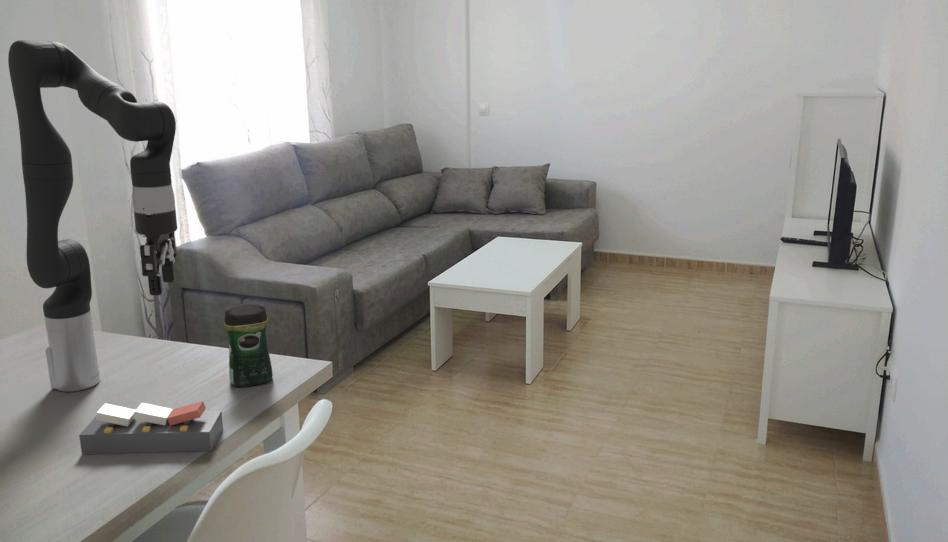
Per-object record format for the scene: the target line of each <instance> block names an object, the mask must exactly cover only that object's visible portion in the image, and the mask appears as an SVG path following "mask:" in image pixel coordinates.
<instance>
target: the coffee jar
mask: <svg viewBox="0 0 948 542" xmlns="http://www.w3.org/2000/svg"><path fill="white" fill-rule="evenodd" d="M265 307H266V306H265V304H264V302H262V301H257V302H247V303H239V304H233V305H232V304H231V305H226V306H225V308H224V309H225V310H224V319H223V324H224V328H225V330H226V332H227V336H228V350H229V351H228V352H229V353H228V355H229V356H228V361H229V362H228V368H229V369H228V370H229V371H228V373H229V382H230V383H231V384H232V385H233V386H235V387H237V388H238V387H239V388H240V387H250V386H255V385H256V386H257V385H261V384H266V383H268V382H270V381H271V380H273V376H274V375H273V366H272V362H271V357H270V351H269V346H268V339H267V326H268V323H269V322H268V321H269V318H268V315H267V314H268V313H267V310H266V308H265Z"/></svg>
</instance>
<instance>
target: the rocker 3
mask: <svg viewBox="0 0 948 542" xmlns="http://www.w3.org/2000/svg"><path fill="white" fill-rule="evenodd" d="M206 408H207V407H206V404H205V403H204V401H198V402H195V403H191V404H187V405H183V406H181V407H180V406H178V407H176V408H172V409H173V411H172V412H171V413H170V415H169V416H168V418H167V419H168V422H169V424H170V425H174V424H178V423H182V422H185V421H189V420H193V419H196V418H200V417H201V415H202V414H203V412H204V411H206Z"/></svg>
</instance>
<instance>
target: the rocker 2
mask: <svg viewBox="0 0 948 542" xmlns="http://www.w3.org/2000/svg"><path fill="white" fill-rule="evenodd" d="M173 409H174V408H171V407H165V406H161V405H156V404H151V403H147V402H141V403H140V404H139V406H137V408H136V409H135V412H134V418H133V419H136V420H140V421H145V422H150V423H155V424H160V425H164V426H165V425H166V424H167V422H168V419H167V418H168V416H169V415H170V413H171V412H172V411H173Z"/></svg>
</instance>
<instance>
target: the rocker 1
mask: <svg viewBox="0 0 948 542" xmlns="http://www.w3.org/2000/svg"><path fill="white" fill-rule="evenodd" d="M135 410H136V409H134V408H130V407H125V406H121V405H115V404H110V403H106V402H104V404H103V405H102V406H101V407H100V408H99V409H98V411H96V415H95V417H96V420H99V421H103V422H108V423H113V424H118V425H123V426H129V424H130V423H131V422H132V421H133V418H134V412H135Z"/></svg>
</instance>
